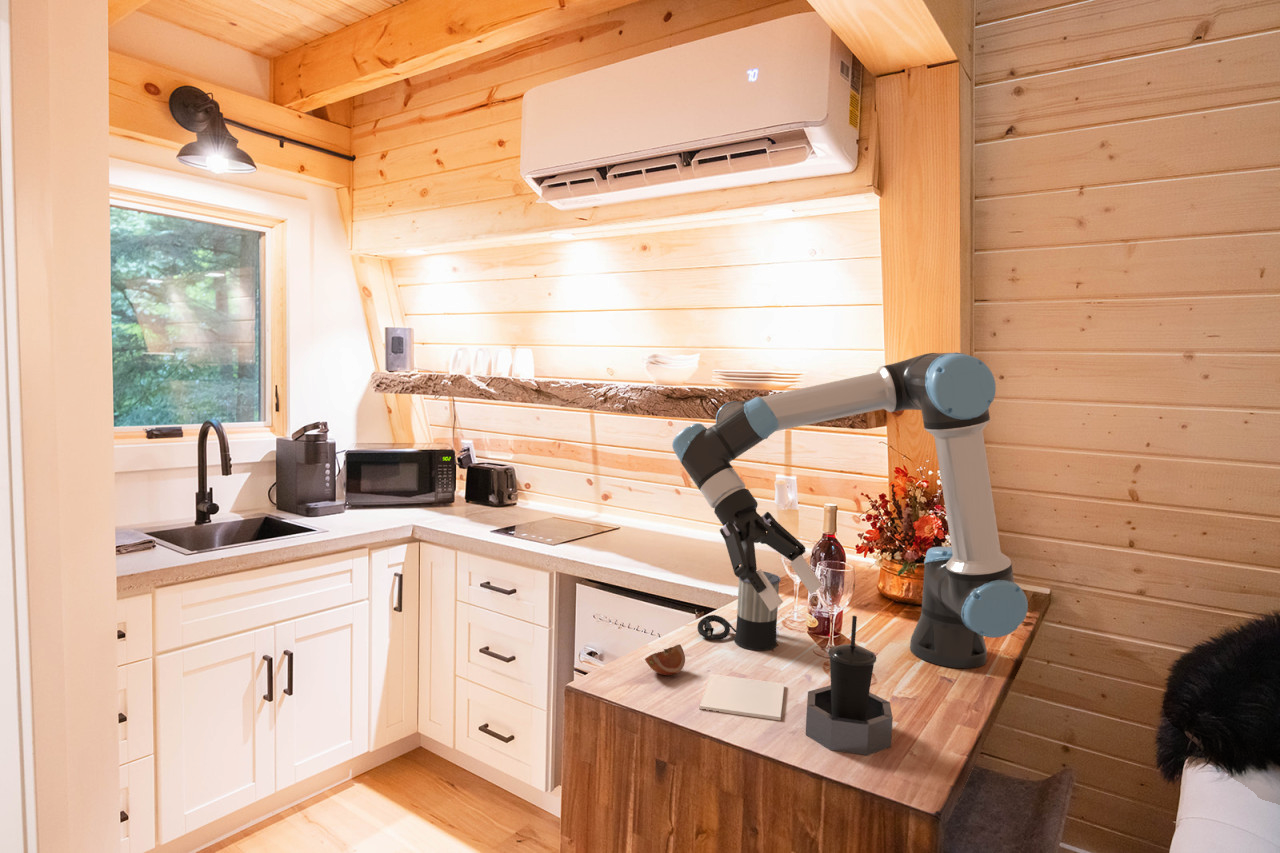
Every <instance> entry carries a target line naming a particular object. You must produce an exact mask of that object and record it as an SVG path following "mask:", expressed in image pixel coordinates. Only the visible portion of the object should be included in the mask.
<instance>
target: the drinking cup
mask: <svg viewBox="0 0 1280 853" xmlns="http://www.w3.org/2000/svg"><path fill="white" fill-rule="evenodd" d="M857 618H858V617H857V615H852V619H851V620H852V621H851V635H850V643H846V644H839V645H834V646H832V647H830V648H829V649H828V652H827V653H828V656H829V668H830V670H829V671H830V685H831V705H832V715H833V716H834V717H838V718H845V719H853V720H860V721H865V715H866V709H867V703H868V697H869V692H870V689H871V683H872V677H873V672H874V667H875V666H874V664H876V662H877V655H876V654H875V653H874V652H873V651H871V650H869V649H866V648H865V647H863V646H861V645H857V644H856V634H857V633H856V632H857Z"/></svg>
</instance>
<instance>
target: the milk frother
mask: <svg viewBox="0 0 1280 853" xmlns="http://www.w3.org/2000/svg"><path fill="white" fill-rule="evenodd" d="M757 571H758V570H756V572H757ZM762 571H763V573H764V574H765V576H766V577H767V579H768V580H769V582H770V583H771V585H772V586H773V588H774V589H775V591H776V592H777V594H778V595H779V592H780V591H779V590H780V582H781V580H782V579H781V577H780V576H779V575H777V574H775V573H771V572H768V571H764V570H762ZM737 578H738V588H737V589H738V591H737V592H738V593H737V610H736V611H737V613H736V615H737V616H736V627H735V628H734V627H733V626H732V624H731V623H730V622H729V621H728V620H727V619H725V618H724V617H723V616H719V615H717V614H715V615H714V614H710V615H707V616H705V617H703V618H701V619H700V621H699V622H698V623H697V632H698V634H699V635H700V636H702V637H703V638H705V639H707V640H708V639H709V640H713V641H714V640H715V641H718V640H719V641H720V640H724V639H726V638H727V637H728V636H729V634H730V632H731V631H730V630H731V629H732V631H733V632H734V633H735V637H734V638H733V641H734V643H735V644H736V645H737V646H739V647H741V648H744V649H746V650H751V651H761V652H762V651H768V650H769V651H770V650H772V649H775V648H776V647H777V645H778V641H777V632H778V631H777V624H778V610H779V609H778V608H779V606H778V607H776V608H775V609H774V610H772V611H770V610H769V609H768V607H767V606H766V604H765V603H764V601H763V600H762V598H761V597H760V595H759V594H758V592H757V591H756V590H755V589H754V587H753V586H752V584H751V583H750V581H749V580H748V578H747V579H746V580H744V581H743V580H741V579H740V577H737ZM713 622H714V623H715V622H716V623H719V624H720V625H722V626H723V629H724V631H723V632H720V633H718V634H714V631H715V630H714V627H713V626H712V624H711V623H713ZM776 641H777V642H776Z"/></svg>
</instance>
